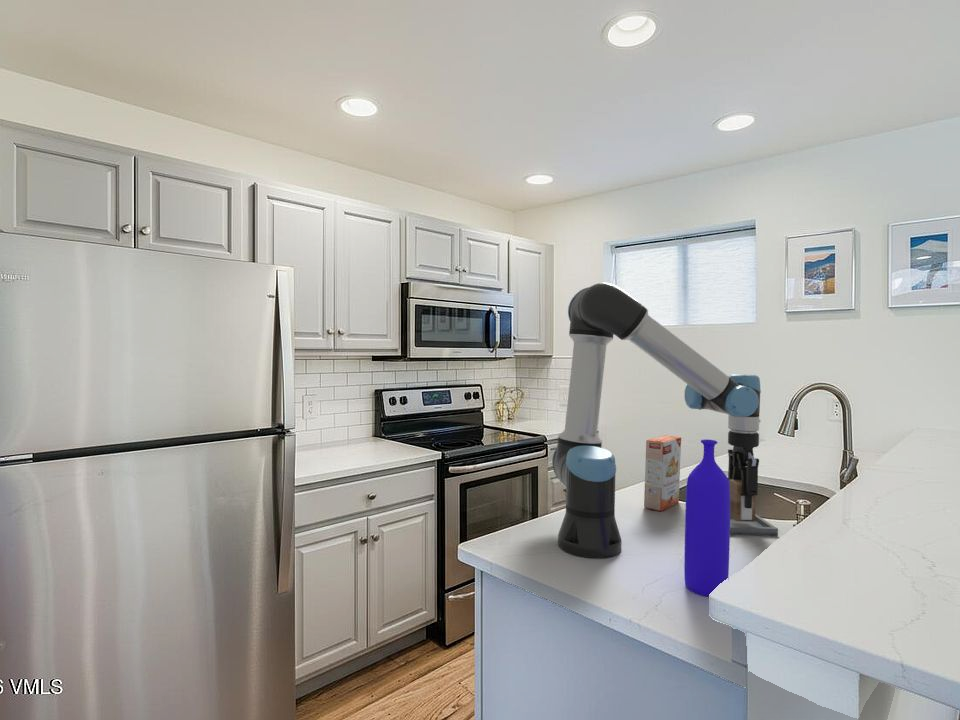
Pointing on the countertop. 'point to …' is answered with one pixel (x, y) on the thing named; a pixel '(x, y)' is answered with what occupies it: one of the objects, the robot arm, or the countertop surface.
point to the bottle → (707, 525)
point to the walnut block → (739, 501)
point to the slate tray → (752, 527)
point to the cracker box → (662, 472)
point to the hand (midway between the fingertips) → (741, 515)
